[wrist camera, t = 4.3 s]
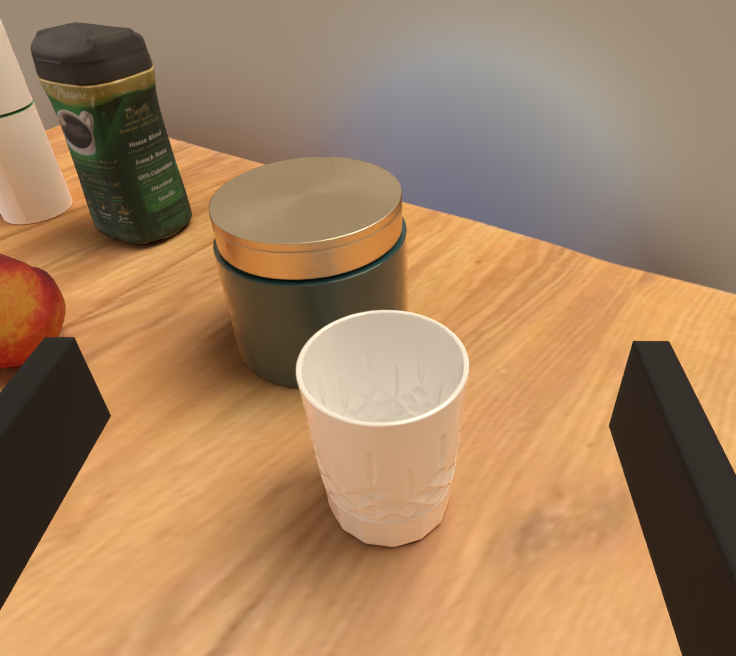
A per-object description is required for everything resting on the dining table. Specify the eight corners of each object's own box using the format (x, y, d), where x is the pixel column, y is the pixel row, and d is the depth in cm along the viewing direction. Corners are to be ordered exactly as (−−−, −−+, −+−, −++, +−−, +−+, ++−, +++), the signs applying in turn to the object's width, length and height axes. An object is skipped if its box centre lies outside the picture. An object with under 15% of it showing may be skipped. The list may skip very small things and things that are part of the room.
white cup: (430, 427, 37) (432, 296, 31) (483, 535, 31) (499, 399, 25) (306, 458, 36) (282, 328, 29) (336, 577, 29) (314, 445, 23)
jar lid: (187, 224, 41) (178, 191, 40) (336, 174, 47) (334, 143, 45) (272, 305, 33) (265, 268, 32) (441, 233, 38) (442, 198, 37)
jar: (209, 322, 47) (175, 200, 40) (346, 265, 52) (335, 149, 46) (291, 418, 38) (264, 283, 32) (443, 337, 44) (448, 208, 37)
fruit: (103, 343, 45) (64, 254, 40) (-3, 405, 41) (-61, 312, 36) (52, 308, 49) (11, 222, 44) (-49, 360, 45) (-107, 271, 40)
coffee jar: (207, 219, 60) (158, 18, 49) (146, 255, 55) (74, 40, 44) (146, 199, 65) (87, 11, 53) (83, 231, 60) (4, 30, 48)
